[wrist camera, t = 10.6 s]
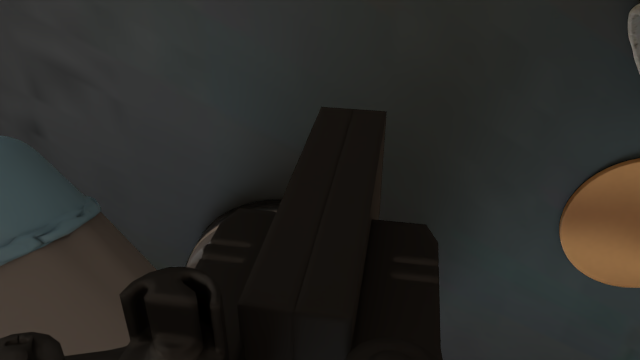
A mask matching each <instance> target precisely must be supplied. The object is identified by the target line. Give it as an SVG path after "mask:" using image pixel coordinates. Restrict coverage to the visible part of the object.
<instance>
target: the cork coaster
mask: <svg viewBox="0 0 640 360" xmlns="http://www.w3.org/2000/svg"><path fill="white" fill-rule="evenodd" d="M559 235H560V241H561V244H562V247H563V250H564V252H565V254H566V256H567V258H568V259H569V260H570V262H571V263H572V264H573V265H574V266H575V267H576V268H577V269H578V270H579V271H581V272H582V273H584V274H585V275H586V276H588V277H590V278H592V279H594V280H597V281H599V282H602V283H605V284H609V285H613V286H619V287H631V288H636V287H640V158H638V159H633V160H628V161H625V162H622V163H618V164H616V165H613V166H611V167H608V168H606V169H604V170H603V171H601V172H599V173H597V174H595V175H594V176H592V177H591V178H590V179H588V180H587V181H586V182H585V183H583V184H582V185H581V186H580V187H579V188H578V189H577V190H576V191H575V192H574V193H573V195H572V196H571V198H570V199H569V200H568V202H567V204H566V206H565V208H564V210H563V212H562V215H561V219H560V225H559Z"/></svg>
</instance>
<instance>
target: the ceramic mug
mask: <svg viewBox="0 0 640 360" xmlns="http://www.w3.org/2000/svg"><path fill="white" fill-rule="evenodd" d="M628 36H629V40H630V43H631V46H632V50H633V56H634V59H635V62H636V65H637V68H638V70H639V73H640V4H638V5H636V6H635V7H634V8H632V9H631V11H630V13H629V18H628Z"/></svg>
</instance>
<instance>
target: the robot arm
mask: <svg viewBox="0 0 640 360" xmlns="http://www.w3.org/2000/svg"><path fill="white" fill-rule="evenodd" d="M385 126H386V112H385V111H371V110H357V109H342V108H328V107H321V109H320V111H319V113H318V116H317V118H316V121H315V123H314V125H313V128H312V130H311V132H310V135H309V137H308V139H307V142H306V144H305V146H304V149H303V151H302V153H301V156H300V158H299V160H298V163H297V165H296V167H295V170H294V172H293V174H292V177H291V179H290V181H289V184H288V186H287V188H286V191H285V193H284V196H283V198H282V200H267V201H259V202H254V203H250V204H246V205H243V206H240V207H237V208H235V209H233V210H230V211H229V212H227V213H225V214H223V215H222V216H220V217H219V218H218V219H216V220H215V221H214V222H213V223H212V224H211V225H210V226H209V227H208V228H207V229H206V230H205V232H204V233H203V234H202V236H201V238H200V239H199V241H198V243H197V244H196V246H195V248H194V249H193V251H192V253H191V254H190V256H189V259H188V261H187V264H186V267H168V268H164V269H160V270H156V269H155V268H154V267H153V266H152V264H151V263H150V262H149V261H148V260H147V259H146V258H145V257H144V256H143V255H142V254H141V253H140V252H139V251H138V250H137V249H136V248H135V247H134V246H133V245H132V244H131V243H130V242H129V241H128V240H127V239H126V238H125V236H124V235H123V234H122V233H121V232H120V231H119V230H118V229H117V228H116V227H115V226H114V225H113V224H112V223H111V222H110V221H109V220H108V219H107V218H106V217H105V216H104V215H103V214H102V213H101V212H100V210H101V207H100V206H99V204H98V203H97V201H96V200H95V199H94V198H92V197H90V196H84V195H83V194H82V193H81V192H80V191H79V190H78V189H77V188H76V187H74V186H73V185H72V184H71V183H70V182H69V181H68V180H67V179H66V178H65V177H64V176H63V175H62V174H61V173H60V172H58V171H57V170H56V169H55V168H54V167H53V166H52V165H51V164H50V163H49V162H48V161H47V160H46V159H45V158H44V157H42V156H41V155H40V154H39V153H38V152H37V151H36V150H35V149H33V148H32V147H31V146H29V145H28V144H26V143H24V142H22V141H20V140H17V139H14V138H11V137H6V136H0V360H443V359H442V354H441V348H440V304H439V267H438V264H439V259H438V242H437V240H436V239H435V237H434V236H433V234H432V233H431V231H430V230H429V228H428V227H427V225H425V224H414V223H404V222H394V221H384V220H378V219H379V212H380V198H381V183H382V169H383V155H384V140H385Z"/></svg>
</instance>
